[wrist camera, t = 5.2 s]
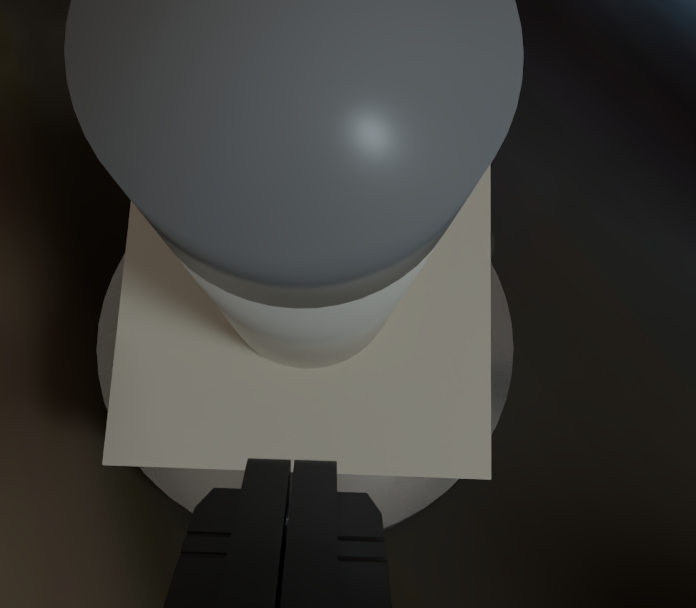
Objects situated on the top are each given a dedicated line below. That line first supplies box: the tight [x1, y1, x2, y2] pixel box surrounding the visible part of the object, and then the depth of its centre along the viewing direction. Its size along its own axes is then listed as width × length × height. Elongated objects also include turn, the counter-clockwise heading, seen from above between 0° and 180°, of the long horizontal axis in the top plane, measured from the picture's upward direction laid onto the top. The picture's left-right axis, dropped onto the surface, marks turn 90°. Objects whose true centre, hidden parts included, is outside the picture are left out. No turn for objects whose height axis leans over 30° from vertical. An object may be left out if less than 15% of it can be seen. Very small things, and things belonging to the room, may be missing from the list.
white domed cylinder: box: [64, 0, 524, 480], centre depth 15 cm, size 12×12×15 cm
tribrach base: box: [97, 233, 513, 530], centre depth 25 cm, size 16×16×4 cm
